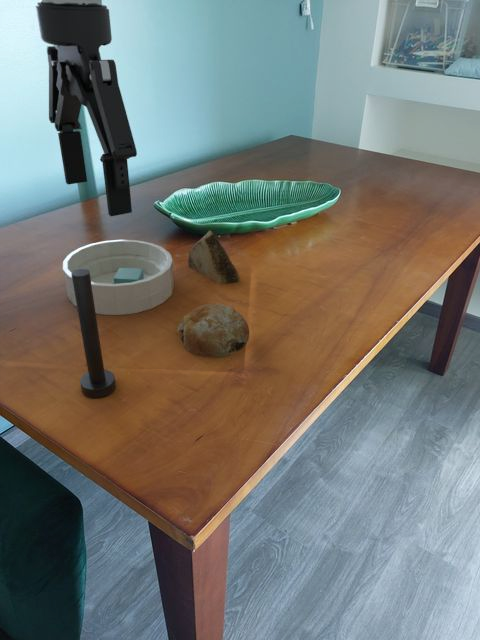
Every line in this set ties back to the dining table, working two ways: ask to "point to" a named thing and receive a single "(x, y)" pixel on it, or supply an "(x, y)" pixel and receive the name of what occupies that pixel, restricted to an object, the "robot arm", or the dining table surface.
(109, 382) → the stirrer
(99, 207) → the dining table surface
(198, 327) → the bread roll
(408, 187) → the dining table surface
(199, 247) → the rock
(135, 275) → the block
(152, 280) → the bowl
